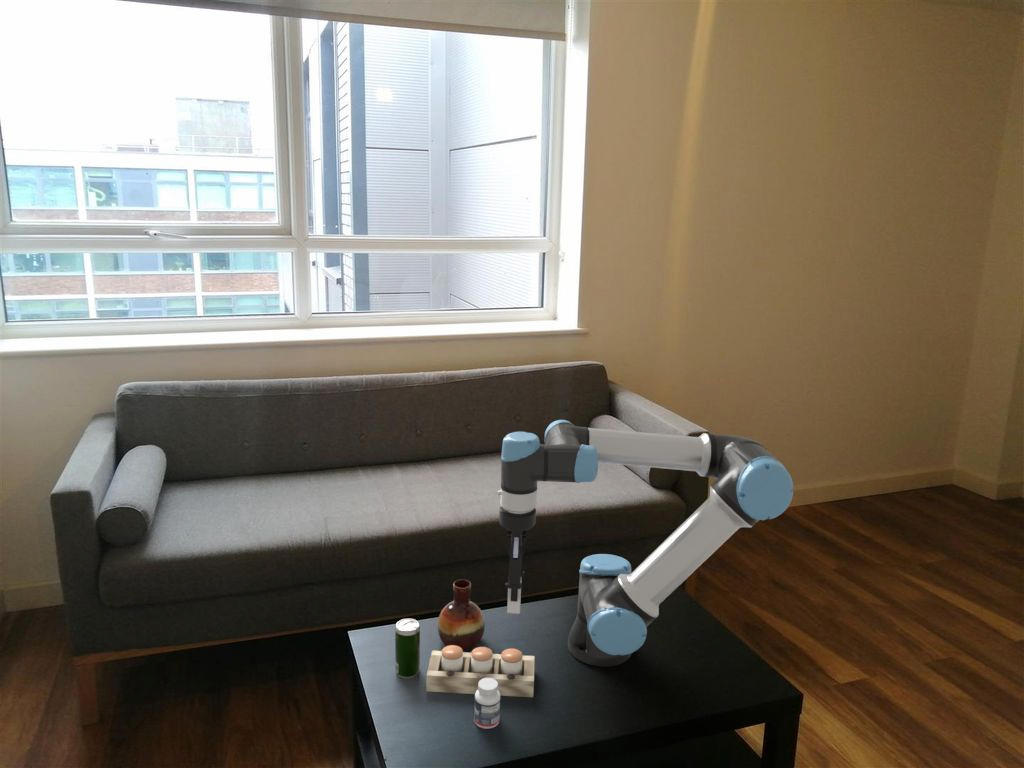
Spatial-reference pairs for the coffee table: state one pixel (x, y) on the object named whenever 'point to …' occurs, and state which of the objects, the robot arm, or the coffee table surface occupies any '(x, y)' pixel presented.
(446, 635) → the vase
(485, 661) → the button
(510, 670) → the button
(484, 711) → the pill bottle
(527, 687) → the wooden egg tray
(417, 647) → the beer can
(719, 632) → the coffee table surface
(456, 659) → the button
